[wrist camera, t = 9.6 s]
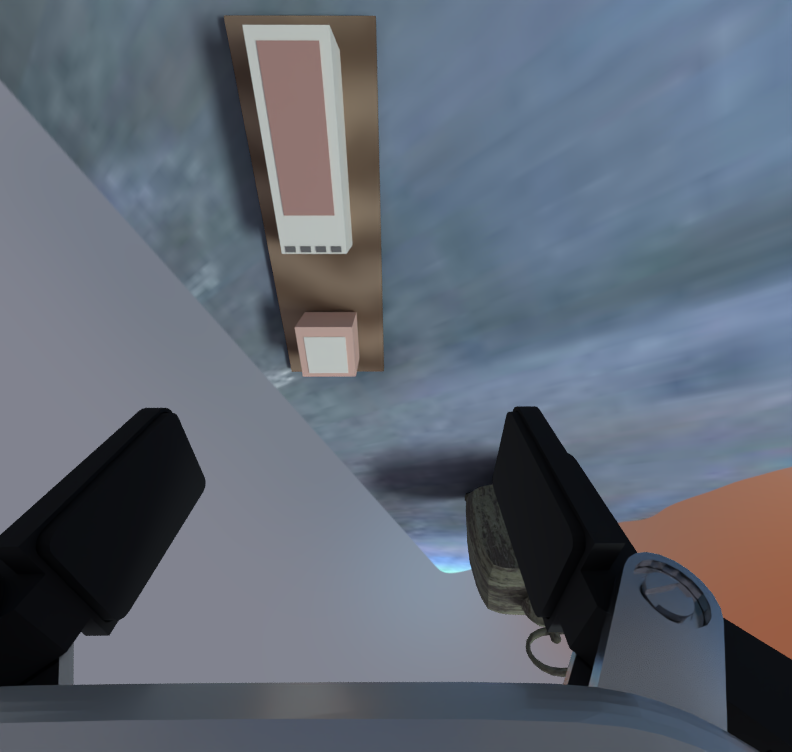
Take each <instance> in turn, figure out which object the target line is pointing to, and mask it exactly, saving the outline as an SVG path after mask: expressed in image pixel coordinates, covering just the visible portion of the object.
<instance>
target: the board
mask: <svg viewBox="0 0 792 752" xmlns="http://www.w3.org/2000/svg"><path fill="white" fill-rule="evenodd" d="M224 20H225V26H226V31H227V36H228V41H229V47H230V52H231V57H232V62H233V67H234V73H235V78H236V83H237V88H238V93H239V99H240V104H241V109H242V114H243V119H244V125H245V130H246V135H247V140H248V146H249V151H250V156H251V161H252V166H253V172H254V177H255V182H256V187H257V192H258V198H259V203H260V208H261V213H262V219H263V224H264V229H265V234H266V239H267V245H268V250H269V255H270V260H271V265H272V271H273V276H274V281H275V286H276V291H277V297H278V302H279V307H280V312H281V318H282V323H283V328H284V333H285V338H286V344H287V349H288V354H289V359H290V364H291V370H292V372H302V367H301V362H300V356H299V350H298V344H297V338H296V333H295V326H296V324H297V323H298V321H299V320H300V319H301V317H302V316H303V314H304V313H305V312H357V327H358V343H359V363H358V368H357V371H384V352H383V308H382V264H381V220H380V176H379V132H378V88H377V44H376V16H224ZM242 25H330V28H331V30H332V33H333V35H334V37H335V40H336V42H337V45H338V47H339V50H340V61H341V76H342V91H343V107H344V122H345V137H346V153H347V168H348V183H349V199H350V214H351V229H352V246H351V248H350V249H349V251H348V252H347V254H282V252H281V246H280V240H279V234H278V229H277V223H276V217H275V211H274V205H273V200H272V194H271V188H270V182H269V176H268V171H267V165H266V159H265V153H264V148H263V142H262V136H261V130H260V124H259V119H258V113H257V107H256V101H255V95H254V90H253V84H252V78H251V72H250V67H249V61H248V55H247V49H246V43H245V38H244V32H243V26H242Z"/></svg>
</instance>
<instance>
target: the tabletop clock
mask: <svg viewBox="0 0 792 752" xmlns="http://www.w3.org/2000/svg"><path fill="white" fill-rule="evenodd" d="M465 501H466V523H467V544H468V552H469V560H470V565H471V568H472V572H473V575H474V579H475V582H476V586H477V588H478V591H479V594H480V596H481V598H482V600H483V601H484V603H485V605H486V606H487V608H488V609H490V610H493V611H495V612H498V613H502V614H513V615H514V614H515V615H516V614H517V615H526V616H527V617H528V618H529V619H530V620H531V621H533V622H534V623H536V624H537V625H539V626H543V627H544V628H541V629H538V630H536V631H534V632H533V633H531V634H530V636H529V637H528V639H527V641H526V652H527V654H528V656H529V658H530V659H531V661H532V662H533V663H534V664H535V665H536V666H537V667H538V668H539V669H541V670H542V671H544V672H546V673H548V674H551V675H553V676H560V677H565V676H566V673H567V669H568V668H556V667H550V666H547V665H544V664H543V663H541V662H540V661H538V660H537V659H536V658H535V657H534V656H533V655H532V652H531V650H530V644H531V643H532V642H533V641H534V640H535V639H537V638H539V637H541V636H545V635H550V637H551V641H552V642H554V643H556V644H558V643H559V642H561V637H560V634H564V632H547V630H546V627H545V624H544V621H543V618H542V617H537V616H536V615H535V613H534V611H533V609H532V606H531V603H530V600H529V597H528V594H527V591H526V587H525V584H524V581H523V578H522V575H521V572H520V569H519V566H518V563H517V560H516V557H515V554H514V551H513V548H512V544H511V541H510V538H509V535H508V532H507V529H506V526H505V523H504V520H503V517H502V514H501V511H500V508H499V505H498V502H497V498H496V495H495V492H494V489H493V484H492V485H486V486H482V487H479V488H477V489H475V490H474V491H472V492H471V493H467V494H466V495H465Z"/></svg>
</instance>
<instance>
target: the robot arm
mask: <svg viewBox="0 0 792 752" xmlns="http://www.w3.org/2000/svg"><path fill="white" fill-rule="evenodd" d="M204 488H205V477H204V475H203V473H202V471H201V468H200V466H199V464H198V461H197V459H196V457H195V454H194V452H193V450H192V448H191V445H190V443H189V441H188V438H187V436H186V434H185V432H184V429H183V427H182V425H181V422H180V420H179V418H178V416H177V415H176V414H175V413H172V411H171V410H169V409H168V408H144V409H141V410H140V411H138V412H137V413H136V414H135V415H134V416H133V417H132V418H131V419H129V420H128V421H127V422H126V423H125V424H124V425H123V426H122V427H121V428H120V429H118V430H117V431H116V432H115V433H114V434H113V435H112V436H110V437H109V438H108V439H107V440H106V441H105V442H104V443H103V444H102V445H100V447H98V448H97V449H96V450H95V451H94V452H93V453H91V454H90V455H89V456H88V457H87V458H86V459H85V460H84V461H82V462H81V463H80V464H79V465H78V466H77V467H76V468H75V469H74V470H72V471H71V472H70V473H69V474H68V475H67V476H66V477H65V478H63V479H62V480H61V481H60V482H59V483H58V484H57V485H56V486H55V487H53V488H52V489H51V490H50V491H49V492H48V493H47V494H46V495H44V496H43V497H42V498H41V499H40V500H39V501H38V502H37V503H35V504H34V505H33V506H32V507H31V508H30V509H29V510H28V511H27V512H25V513H24V514H23V515H22V516H21V517H20V518H19V519H18V520H16V521H15V522H14V523H13V524H12V525H11V526H10V527H9V528H7V530H5V531H4V532H3V533H2V534H1V535H0V752H792V660H791V659H790V658H788V657H786V656H785V655H783V654H781V653H780V652H778V651H777V650H775V649H773V648H772V647H770V646H768V645H767V644H765V643H764V642H762V641H760V640H759V639H757V638H755V637H754V636H752V635H751V634H749V633H747V632H746V631H744V630H742V629H741V628H739V627H738V626H736V625H734V624H733V623H731V622H729V621H728V620H726V619H725V618H723V616H722V612H721V608H720V606H719V604H718V603H717V601H716V599H715V597H714V596H713V594H712V593H711V591H710V590H709V589H708V588H707V587H706V586H705V584H704V583H703V582H702V581H701V580H700V579H699V578H697V577H696V576H695V575H694V574H693V573H692V572H690V571H689V570H688V569H686V568H685V567H683V566H682V565H680V564H679V563H677V562H675V561H674V560H671V559H669V558H667V557H664V556H662V555H659V554H654V553H648V552H643V553H637V552H636V550H635V549H634V547H633V545H632V544H631V543H630V541H629V540H628V538H627V537H626V535H625V533H624V532H623V530H622V529H621V527H620V526H619V524H618V523H617V521H616V520H615V518H614V517H613V515H612V514H611V512H610V511H609V509H608V508H607V506H606V504H605V503H604V501H603V500H602V498H601V497H600V495H599V494H598V492H597V491H596V489H595V488H594V486H593V485H592V483H591V482H590V480H589V479H588V477H587V476H586V474H585V473H584V471H583V470H582V468H581V467H580V465H579V464H578V462H577V460H576V459H575V458H574V457H573V456H572V455H570V454H568V453H567V452H566V450H565V448H564V447H563V445H562V444H561V442H560V441H559V439H558V438H557V436H556V434H555V433H554V431H553V430H552V428H551V427H550V425H549V424H548V422H547V420H546V419H545V417H544V416H543V414H542V413H541V411H540V410H539V408H538V407H535V406H534V407H515V408H514V409H513V412H508V413H507V415H506V420H505V424H504V429H503V433H502V438H501V442H500V447H499V451H498V456H497V461H496V465H495V470H494V474H493V489H494V492H495V495H496V498H497V502H498V505H499V508H500V511H501V514H502V517H503V520H504V523H505V526H506V529H507V532H508V535H509V538H510V541H511V544H512V548H513V551H514V554H515V557H516V560H517V563H518V566H519V569H520V572H521V575H522V578H523V581H524V584H525V587H526V591H527V594H528V597H529V600H530V603H531V606H532V609H533V611H534V613H535V615H536V616H537V617H542V618H543V621H544V624H545V627H546V630H547V632H564V634H565V637H566V640H567V642H568V645H569V648H570V649H571V650H572V651H573V652H572V655H571V659H570V662H569V666H568V669H567V673H566V676H565V680H564V683H563V684H545V683H543V684H542V683H541V684H540V683H489V682H323V683H321V682H319V683H194V684H193V683H192V684H191V683H189V684H109V685H108V684H105V685H73V646H74V645H73V642H74V641H75V639H76V638H77V637H78V635H79V634H80V632H82V633H83V634H84V635H86V636H92V635H93V636H96V635H97V636H98V635H100V636H101V635H110V633H111V632H112V630H113V629H114V627H115V625H116V624H117V622H118V621H119V620H120V619H122V618H124V617H125V616H126V615H127V613H128V612H129V611H130V609H131V608H132V606H133V604H134V602H135V601H136V599H137V598H138V596H139V594H140V593H141V592H142V590H143V588H144V587H145V585H146V583H147V582H148V580H149V579H150V577H151V575H152V574H153V572H154V570H155V569H156V567H157V566H158V564H159V562H160V561H161V559H162V557H163V556H164V554H165V553H166V551H167V549H168V548H169V546H170V545H171V543H172V541H173V540H174V538H175V537H176V535H177V533H178V532H179V530H180V528H181V527H182V525H183V524H184V522H185V520H186V519H187V517H188V515H189V514H190V512H191V511H192V509H193V507H194V506H195V504H196V503H197V501H198V499H199V498H200V496H201V494H202V493H203V491H204Z"/></svg>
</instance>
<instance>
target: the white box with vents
mask: <svg viewBox="0 0 792 752" xmlns="http://www.w3.org/2000/svg"><path fill="white" fill-rule="evenodd" d="M242 26H243V32H244V38H245V43H246V49H247V55H248V61H249V67H250V72H251V78H252V84H253V90H254V95H255V101H256V107H257V113H258V119H259V124H260V130H261V136H262V142H263V148H264V153H265V159H266V165H267V171H268V176H269V182H270V188H271V194H272V200H273V205H274V211H275V217H276V223H277V229H278V234H279V240H280V246H281V252H282V254H347V252H348V251H349V249H350V248H351V246H352V229H351V214H350V199H349V183H348V168H347V153H346V137H345V122H344V107H343V91H342V76H341V61H340V50H339V47H338V45H337V42H336V40H335V37H334V35H333V33H332V30H331V28H330V25H242Z"/></svg>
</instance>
